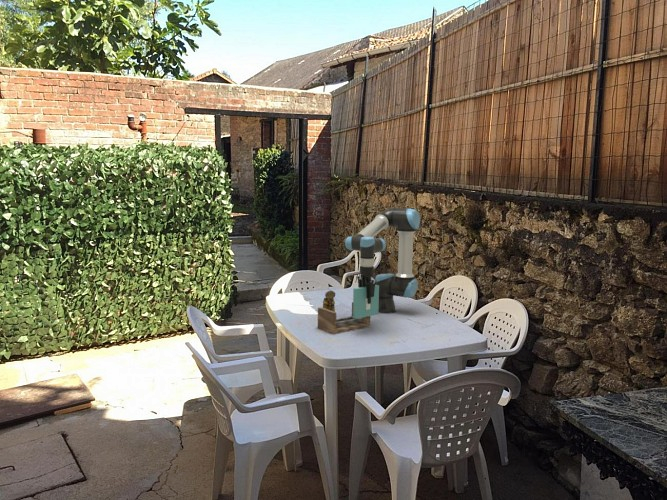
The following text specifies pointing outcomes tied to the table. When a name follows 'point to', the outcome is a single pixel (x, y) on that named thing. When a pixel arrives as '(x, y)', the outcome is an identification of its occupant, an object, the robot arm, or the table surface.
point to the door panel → (364, 302)
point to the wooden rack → (339, 322)
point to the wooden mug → (329, 301)
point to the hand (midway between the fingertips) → (366, 308)
